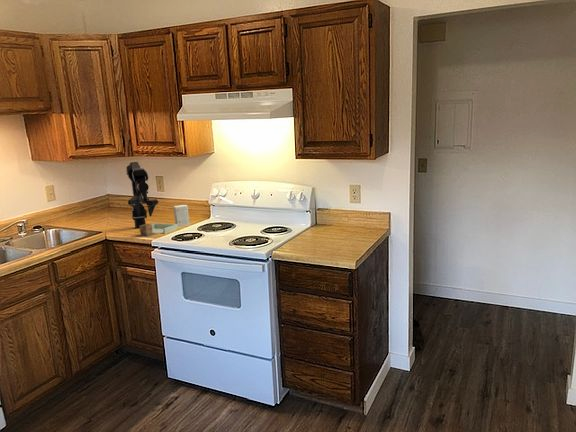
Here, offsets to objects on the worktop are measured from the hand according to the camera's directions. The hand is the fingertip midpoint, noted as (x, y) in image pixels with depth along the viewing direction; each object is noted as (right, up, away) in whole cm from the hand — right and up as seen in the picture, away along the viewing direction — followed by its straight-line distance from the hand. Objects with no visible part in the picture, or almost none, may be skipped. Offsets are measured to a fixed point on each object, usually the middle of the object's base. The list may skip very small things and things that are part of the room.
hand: (144, 216), depth 283 cm
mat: (+1, -12, +3) cm, 12 cm away
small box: (+17, -6, +25) cm, 31 cm away
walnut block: (+1, -11, +3) cm, 12 cm away
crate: (+6, -9, +13) cm, 17 cm away
